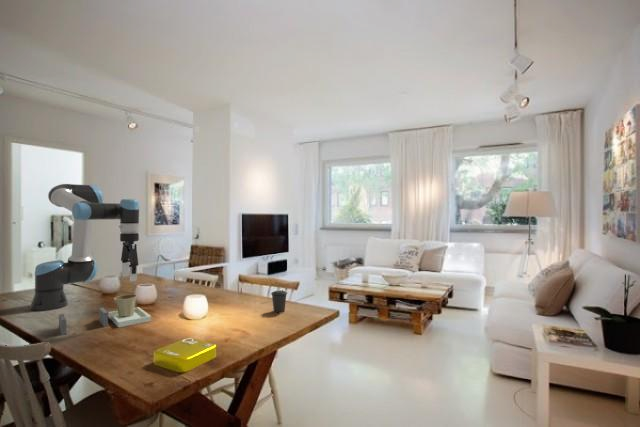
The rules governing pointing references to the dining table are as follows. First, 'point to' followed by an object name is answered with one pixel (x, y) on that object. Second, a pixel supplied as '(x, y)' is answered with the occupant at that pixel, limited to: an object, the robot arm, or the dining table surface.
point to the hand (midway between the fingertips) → (129, 278)
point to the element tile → (184, 354)
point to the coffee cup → (279, 300)
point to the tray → (130, 318)
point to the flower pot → (125, 304)
